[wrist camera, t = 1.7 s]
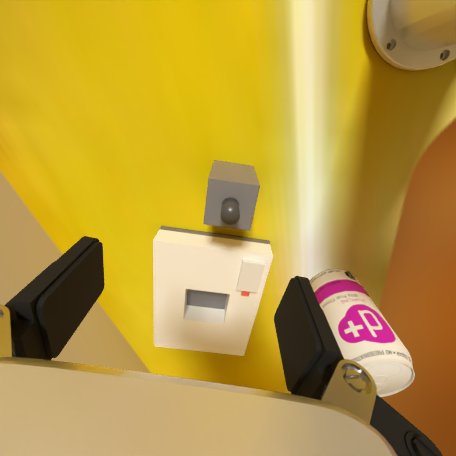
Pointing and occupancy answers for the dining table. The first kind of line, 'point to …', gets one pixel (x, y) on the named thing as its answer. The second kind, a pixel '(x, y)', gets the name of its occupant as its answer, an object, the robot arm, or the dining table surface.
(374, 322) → the supplement can
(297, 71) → the dining table surface
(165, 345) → the socket
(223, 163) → the plug
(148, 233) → the dining table surface
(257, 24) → the dining table surface
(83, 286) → the robot arm
